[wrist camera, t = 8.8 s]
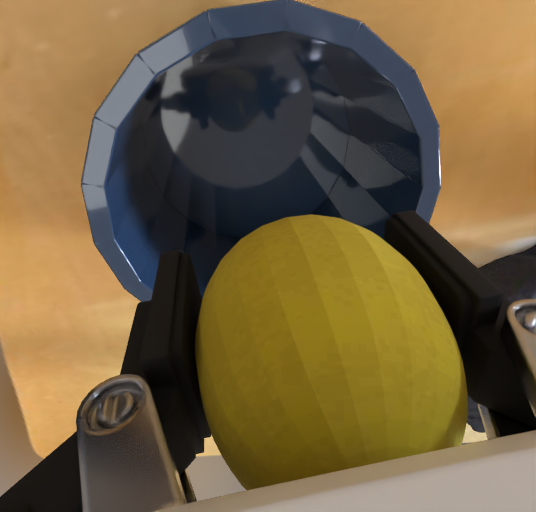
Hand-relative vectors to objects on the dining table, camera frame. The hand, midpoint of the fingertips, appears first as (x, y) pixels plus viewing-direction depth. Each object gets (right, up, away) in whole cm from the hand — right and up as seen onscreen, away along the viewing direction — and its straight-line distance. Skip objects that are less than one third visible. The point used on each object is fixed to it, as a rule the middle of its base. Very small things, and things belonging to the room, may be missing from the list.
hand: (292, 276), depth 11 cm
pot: (-2, +7, +11) cm, 14 cm away
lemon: (0, +1, +1) cm, 2 cm away
